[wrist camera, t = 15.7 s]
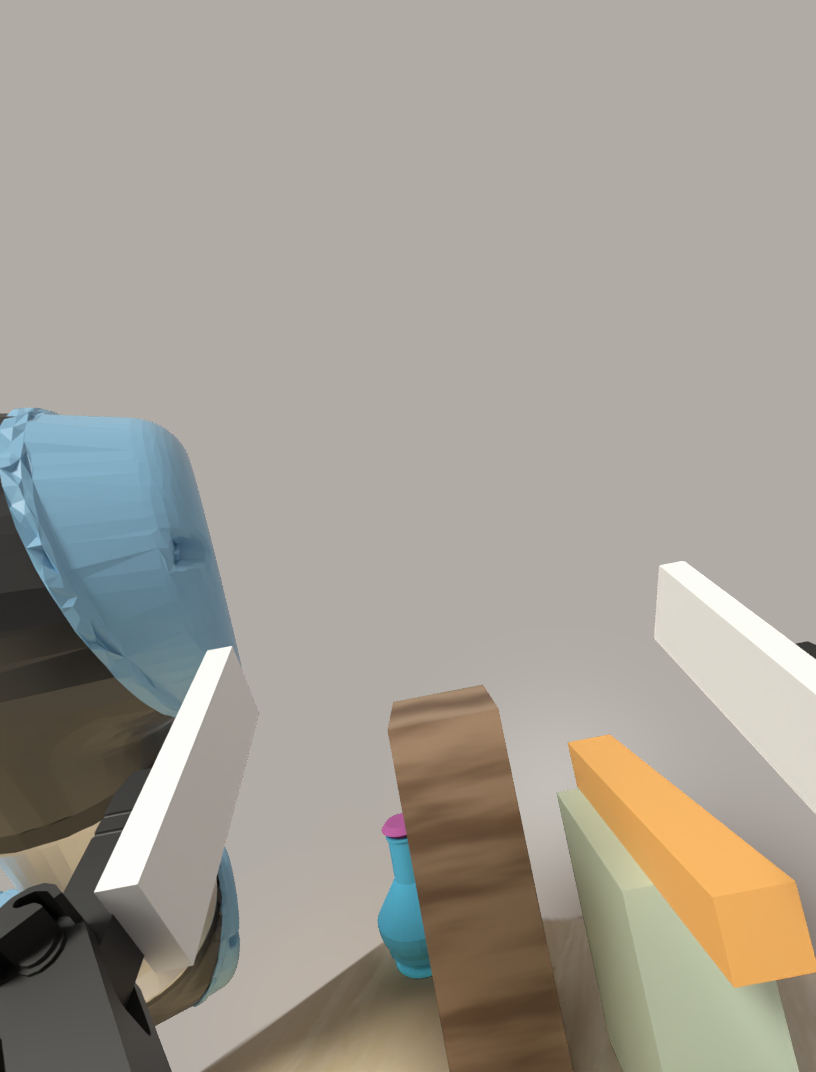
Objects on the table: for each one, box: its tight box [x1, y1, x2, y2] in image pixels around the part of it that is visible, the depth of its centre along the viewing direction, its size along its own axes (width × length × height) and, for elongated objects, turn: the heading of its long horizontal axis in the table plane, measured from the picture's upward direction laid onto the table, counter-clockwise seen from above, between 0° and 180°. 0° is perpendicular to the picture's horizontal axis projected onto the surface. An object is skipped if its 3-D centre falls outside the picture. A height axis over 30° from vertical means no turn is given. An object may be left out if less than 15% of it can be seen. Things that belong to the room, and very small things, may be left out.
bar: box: [568, 735, 816, 988], centre depth 33 cm, size 22×4×4 cm, turn 178°
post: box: [388, 685, 573, 1072], centre depth 46 cm, size 10×10×30 cm
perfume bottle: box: [378, 813, 432, 978], centre depth 56 cm, size 9×9×15 cm
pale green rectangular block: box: [557, 788, 799, 1072], centre depth 36 cm, size 14×8×21 cm, turn 178°
